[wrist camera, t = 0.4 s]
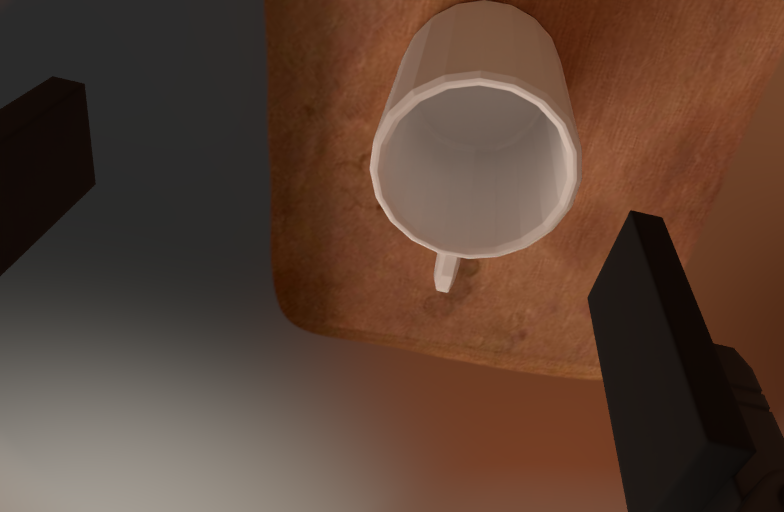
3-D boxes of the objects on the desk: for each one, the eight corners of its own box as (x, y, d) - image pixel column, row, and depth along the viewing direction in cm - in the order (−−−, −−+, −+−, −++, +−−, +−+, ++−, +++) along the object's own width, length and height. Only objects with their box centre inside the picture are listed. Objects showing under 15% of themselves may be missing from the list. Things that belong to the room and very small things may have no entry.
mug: (381, 199, 37) (350, 309, 29) (414, -15, 30) (384, 54, 22) (517, 225, 37) (522, 343, 29) (582, 16, 30) (613, 97, 22)
